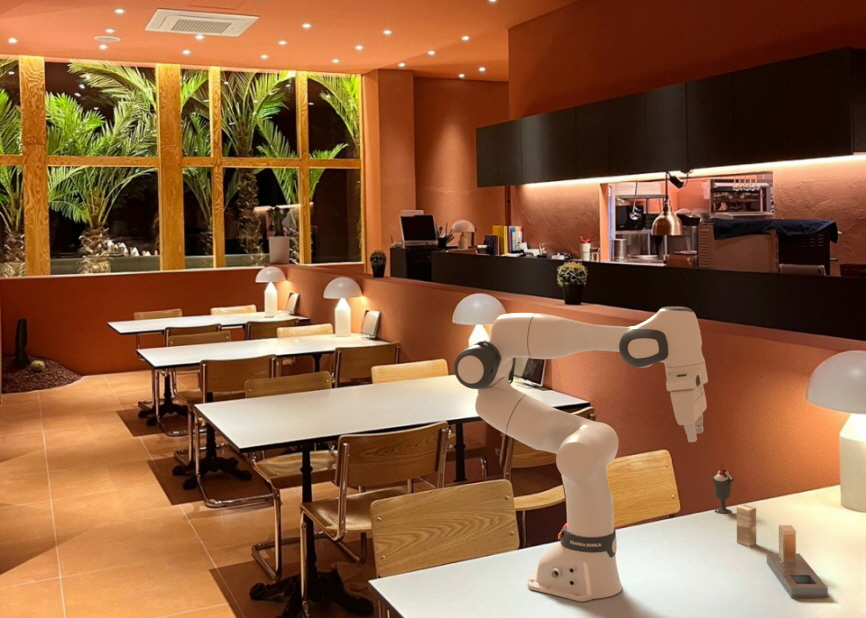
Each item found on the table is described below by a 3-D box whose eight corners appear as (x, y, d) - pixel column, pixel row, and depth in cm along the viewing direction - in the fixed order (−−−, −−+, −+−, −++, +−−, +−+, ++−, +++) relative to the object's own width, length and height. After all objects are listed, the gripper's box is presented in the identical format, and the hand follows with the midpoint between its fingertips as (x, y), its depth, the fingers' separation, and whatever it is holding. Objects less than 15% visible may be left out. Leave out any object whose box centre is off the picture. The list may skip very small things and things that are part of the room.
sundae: (719, 515, 263) (719, 466, 262) (707, 509, 270) (706, 461, 268) (739, 513, 265) (738, 464, 264) (726, 507, 271) (725, 458, 270)
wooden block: (748, 546, 237) (748, 510, 236) (736, 542, 241) (736, 506, 240) (756, 544, 239) (756, 508, 238) (744, 540, 242) (744, 504, 241)
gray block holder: (791, 598, 203) (791, 553, 202) (766, 562, 225) (766, 522, 224) (827, 598, 202) (827, 553, 201) (799, 563, 224) (799, 522, 223)
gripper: (680, 371, 211) (689, 429, 211) (664, 384, 192) (674, 447, 192) (707, 369, 208) (716, 427, 208) (693, 382, 190) (703, 445, 190)
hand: (696, 437), depth 200 cm, fingers open, 8 cm apart
